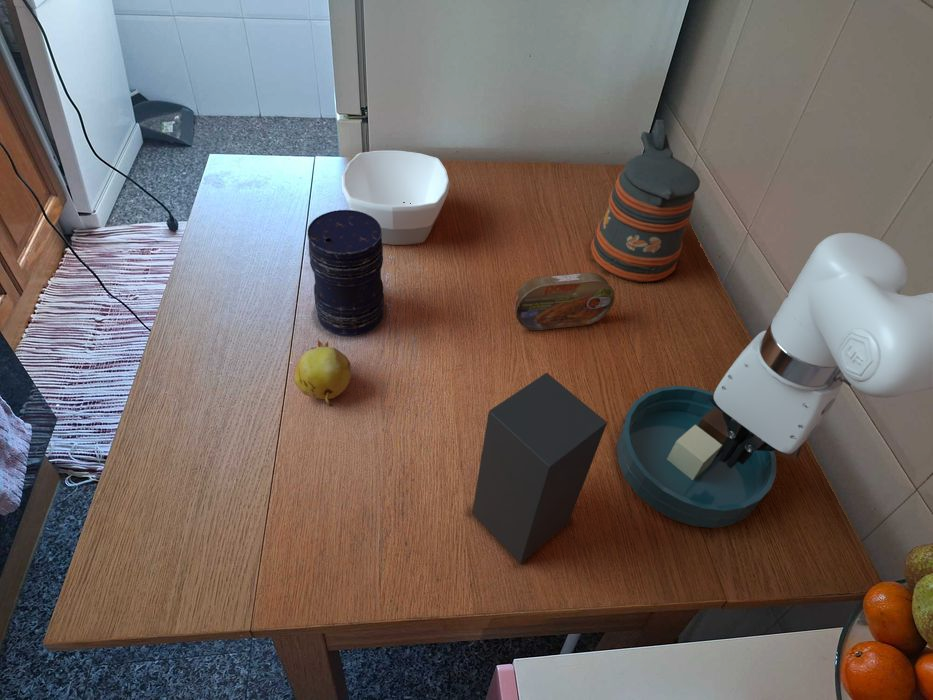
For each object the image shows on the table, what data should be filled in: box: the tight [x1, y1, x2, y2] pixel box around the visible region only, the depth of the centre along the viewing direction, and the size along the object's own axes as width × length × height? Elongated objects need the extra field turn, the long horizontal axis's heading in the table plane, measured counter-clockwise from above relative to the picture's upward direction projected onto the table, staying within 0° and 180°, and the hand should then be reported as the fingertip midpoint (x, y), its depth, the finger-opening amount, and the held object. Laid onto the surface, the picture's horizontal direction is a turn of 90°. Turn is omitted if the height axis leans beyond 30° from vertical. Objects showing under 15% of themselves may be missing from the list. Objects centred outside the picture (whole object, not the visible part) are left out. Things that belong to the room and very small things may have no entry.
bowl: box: [340, 150, 451, 246], centre depth 109 cm, size 18×18×9 cm
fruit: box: [293, 339, 352, 408], centre depth 83 cm, size 7×7×10 cm
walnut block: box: [698, 407, 728, 456], centre depth 83 cm, size 4×4×4 cm
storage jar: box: [307, 209, 385, 338], centre depth 90 cm, size 10×10×15 cm
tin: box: [513, 272, 615, 331], centre depth 95 cm, size 15×3×8 cm, turn 102°
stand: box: [471, 372, 608, 565], centre depth 68 cm, size 8×8×19 cm
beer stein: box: [590, 119, 701, 283], centre depth 105 cm, size 19×15×20 cm
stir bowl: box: [615, 385, 777, 529], centre depth 80 cm, size 18×18×4 cm
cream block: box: [667, 425, 722, 480], centre depth 80 cm, size 4×4×4 cm
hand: (731, 457), depth 76 cm, fingers closed
